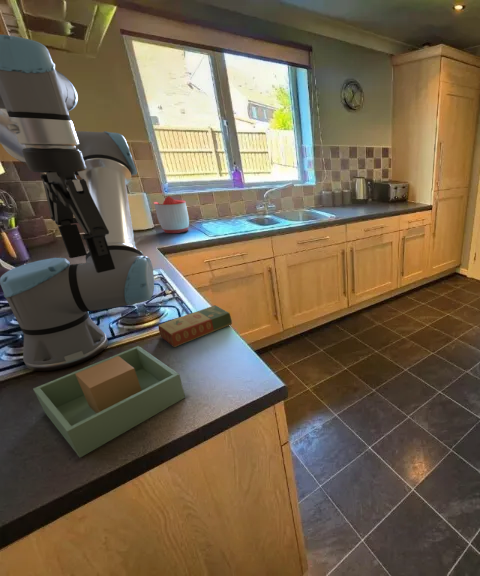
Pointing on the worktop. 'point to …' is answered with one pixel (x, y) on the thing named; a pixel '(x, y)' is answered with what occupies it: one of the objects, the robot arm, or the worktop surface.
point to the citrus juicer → (172, 215)
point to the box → (108, 383)
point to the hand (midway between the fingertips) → (91, 263)
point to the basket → (117, 418)
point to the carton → (194, 325)
